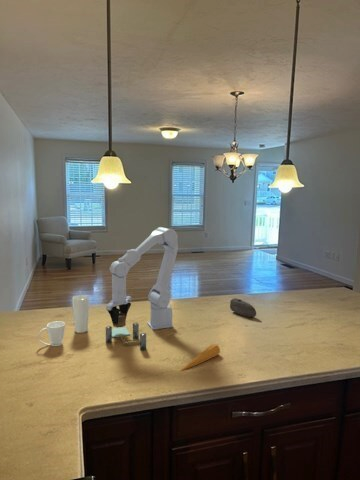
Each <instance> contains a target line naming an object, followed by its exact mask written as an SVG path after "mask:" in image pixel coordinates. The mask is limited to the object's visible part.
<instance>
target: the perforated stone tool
mask: <svg viewBox="0 0 360 480" xmlns="http://www.w3.org/2000/svg"><path fill="white" fill-rule="evenodd" d="M229 309H230V310H231V311H232V312H234V313H236V314H238V315H241V316H243V317H246V318H247V317H248V318H255V317H256V316H257V311H256V308H255V306H253V305H252V304H251V303H248V302H246V301H245V300H242V299H240V298H236V297H235V298H232V299H231V300H230V302H229Z"/></svg>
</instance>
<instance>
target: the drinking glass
mask: <svg viewBox="0 0 360 480" xmlns="http://www.w3.org/2000/svg"><path fill="white" fill-rule="evenodd" d="M71 305H72V314H73V323H74V332H75V333H78V334H81V333H82V334H83V333H87V332H88V330H89V327H88V326H89V315H90V314H89V312H90V311H89V310H90V297H89V295H87V294H77V295H74V296H73V297H72V304H71Z"/></svg>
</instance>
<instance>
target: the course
mask: <svg viewBox="0 0 360 480" xmlns="http://www.w3.org/2000/svg"><path fill="white" fill-rule="evenodd" d="M139 326H140V323H138V322H133V323H132V339H133V340H131V341H126V338H125V336H123V335H120V337H119V339H120V340H121V341H122V344H123V345H124V347H127V346H133V345H139V350H140V351H146V350H147V333H146V332H141V333H139ZM112 329H113V327H112V326H110V325H107V326H106V327H105V343H106V344H110V343H112V342H113V338H112ZM138 339H139V340H138Z"/></svg>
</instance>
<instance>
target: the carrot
mask: <svg viewBox="0 0 360 480" xmlns="http://www.w3.org/2000/svg"><path fill="white" fill-rule="evenodd" d="M220 353H221V349H220V347H219V345H218V344H216V343H214V344H213V343H212V344H211V345H209V346H208V347H207V348H205V350H203V351H202V352H201V353H199V354H198V355H197V356H196V357H194V358H193V359H191V361H189V363H187V364H186V365H185V366H184V367H183V368H182V369H180V372H182V371H185V370H187V369H190V368H192V367H195V366H197V365H199V364H201V362H202V363H204V362H206V361H208V360H211V359H213V358H215V357H217V356H219V354H220ZM212 357H213V358H212ZM210 358H211V359H210Z"/></svg>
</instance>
